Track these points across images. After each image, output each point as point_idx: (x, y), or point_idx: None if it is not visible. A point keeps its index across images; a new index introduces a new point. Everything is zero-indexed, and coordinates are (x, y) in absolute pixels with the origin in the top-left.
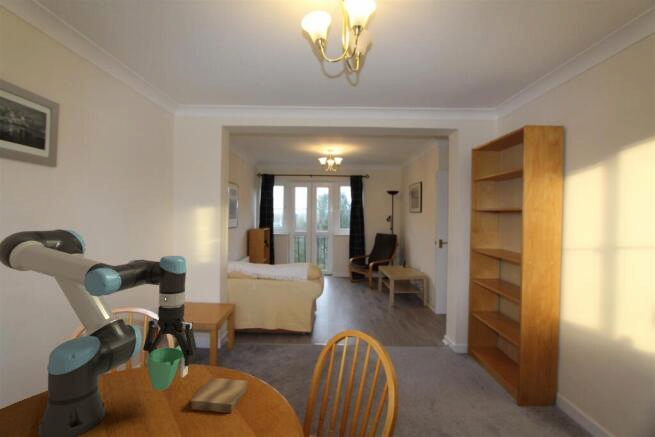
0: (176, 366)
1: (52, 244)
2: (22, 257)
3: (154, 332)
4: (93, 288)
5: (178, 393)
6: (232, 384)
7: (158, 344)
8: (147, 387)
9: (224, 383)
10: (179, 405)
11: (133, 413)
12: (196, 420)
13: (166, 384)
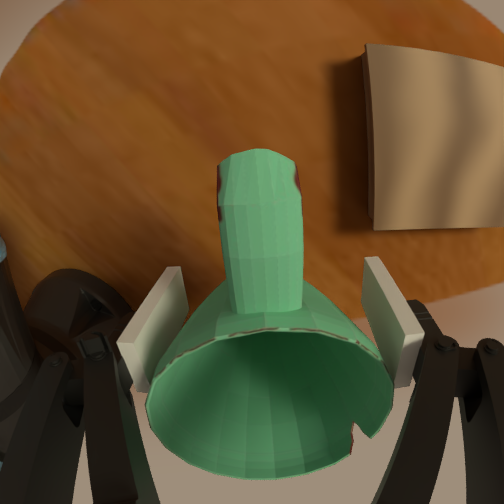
0: (364, 380)
1: None
2: None
3: (43, 484)
4: None
5: (254, 130)
6: (479, 97)
7: (122, 400)
8: (108, 133)
9: (448, 89)
10: (312, 203)
11: (187, 273)
12: (410, 264)
13: (307, 334)
